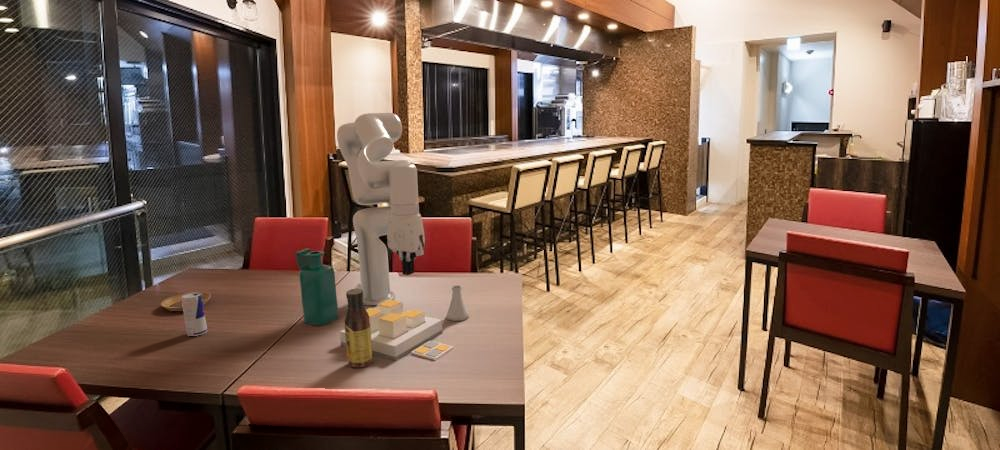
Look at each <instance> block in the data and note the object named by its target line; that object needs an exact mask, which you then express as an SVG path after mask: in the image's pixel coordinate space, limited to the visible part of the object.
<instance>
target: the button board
mask: <svg viewBox="0 0 1000 450" xmlns="http://www.w3.org/2000/svg"><path fill="white" fill-rule="evenodd" d="M404 312H405V311H404V310H403V313H404ZM442 321H443V320H442V319H439V318H436V317H435V318H434V317H430V316H426V315H425V323H423V324H422V325H420V326H418V327H416V328H414V329H411V328H407V327H406V329H407V333H405V334H403V335H402V336H400V337H398V338H396V339H394V340H393V339H389V338H386V337H382V336H379V330H378V331H376V332H374V333H372V334H371V343H372V355H375V356H378V357H383V358H386V359H389V360H392V361H398V360H399V359H401V358H403V357H405V356H406V355H408V354H409V353H411V352H412V351H413V350H415V349H417V348H418V347H420V346H422V345H423V344H425V343H427V342H428V341H432V340H433V339H434V338H436V337H438V336H439V335H442V333H443V323H442ZM339 334H340V335H339V336H340V345H341V346H343V345H344V347H346V337H345V328H344V329H342V330H340V331H339Z"/></svg>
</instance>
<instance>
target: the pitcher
mask: <svg viewBox="0 0 1000 450" xmlns="http://www.w3.org/2000/svg"><path fill="white" fill-rule="evenodd" d="M324 255H325V251H322V250H314V251H312V249H311V248H305V249H302V250H300V251H296V252H295V259H296V264H297V266H298V269H299V270H300V271H299V273H298V275H299V276H298V277H299V285H300V286H299V287H300V295H301V304H302V305H301V307H302V314H303V315H302V316H303V322H304V323H306V324H309V325H314V326H325V325H328V324H329V323H331V322H333V321H335V320H336V319H338V318H339V308H338V298H337V287H336V286H337V285H336V275H335V268H334V267H333V266H331V265H329V264H324V263H323V258H322V256H324Z"/></svg>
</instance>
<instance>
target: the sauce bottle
mask: <svg viewBox="0 0 1000 450" xmlns="http://www.w3.org/2000/svg"><path fill="white" fill-rule="evenodd" d="M345 295H346V299H347V310H346V315H345V318H344V321H343V323H344V324H343V325H344V329H345V337H346V346H345V348H346V355H347V356H346V357H347V361H348V365H349V366H350V367H352V368H364V367H368V366H370V364H372V362H373V354H372V343H371V331H370V323H369V315H368V313H367V311H366V309H365V307H364V306H365V305H364V304H363V290H362V289H355V288H350V289H349V290H347V291H346V292H345Z"/></svg>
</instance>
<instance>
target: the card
mask: <svg viewBox="0 0 1000 450" xmlns="http://www.w3.org/2000/svg"><path fill="white" fill-rule="evenodd" d="M453 349H454V346H453V345H449V344H444V343H441V342H437V341H433V340H430V341H428V342H426V343H424V344H423V345H421V346H419V347H418V348H416V349H414V350H413V351H411V352H410V353H411V355H414V356H418V357H422V358H425V359H428V360H432V361H437V360H439V359H440V358H441V357H443V356H444V355H446V354H447V353H449V352H450V351H452V350H453Z"/></svg>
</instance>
